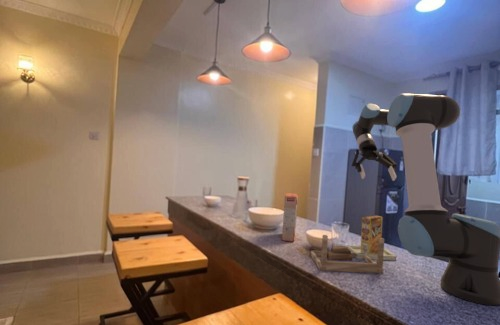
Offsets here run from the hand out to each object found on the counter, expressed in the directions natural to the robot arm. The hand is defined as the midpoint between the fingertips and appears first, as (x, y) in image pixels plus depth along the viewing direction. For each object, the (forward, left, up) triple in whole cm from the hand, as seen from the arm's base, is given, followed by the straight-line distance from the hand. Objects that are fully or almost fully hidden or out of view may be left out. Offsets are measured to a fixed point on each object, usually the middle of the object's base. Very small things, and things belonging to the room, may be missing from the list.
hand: (379, 178), depth 122 cm
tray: (-7, +5, -32) cm, 33 cm away
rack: (-18, +20, -32) cm, 42 cm away
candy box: (-7, +5, -31) cm, 32 cm away
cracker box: (+12, +36, -32) cm, 50 cm away
